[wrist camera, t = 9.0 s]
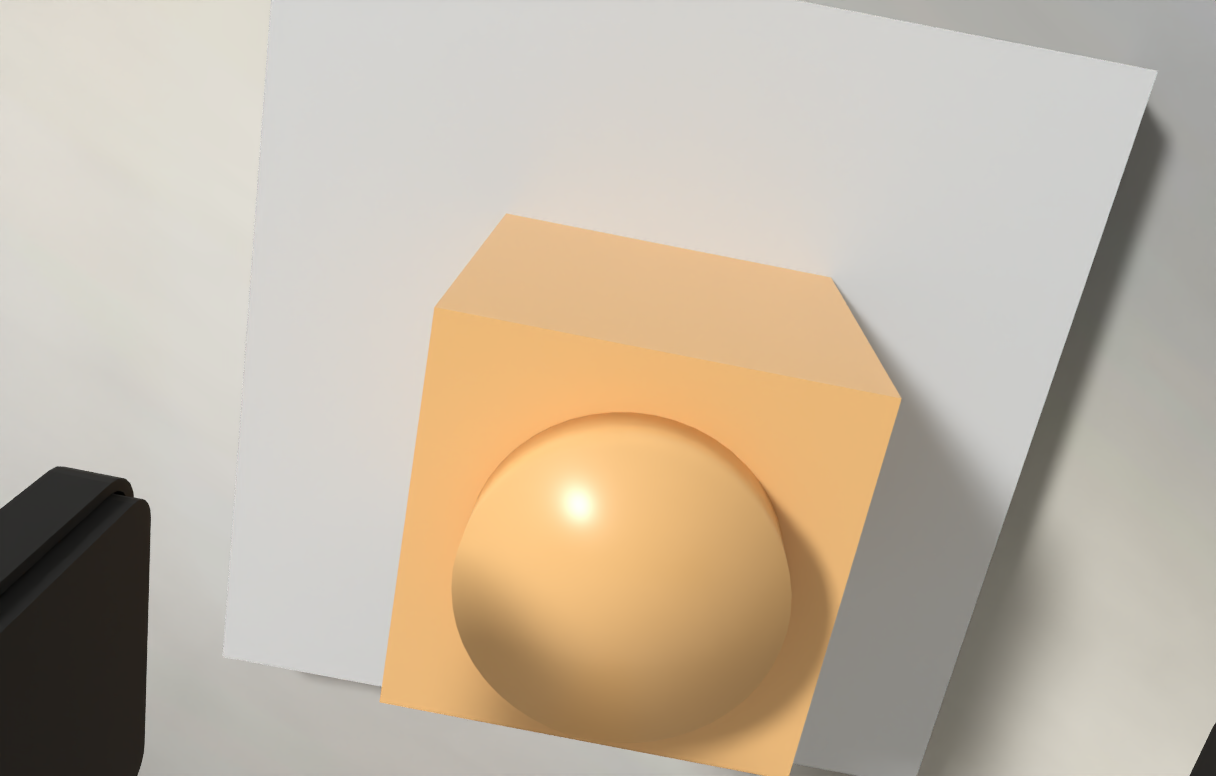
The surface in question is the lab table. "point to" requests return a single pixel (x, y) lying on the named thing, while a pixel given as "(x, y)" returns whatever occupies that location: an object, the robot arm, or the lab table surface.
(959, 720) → the lab table surface
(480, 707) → the orange cube with hemisphere
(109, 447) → the lab table surface
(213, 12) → the lab table surface
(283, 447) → the plate
